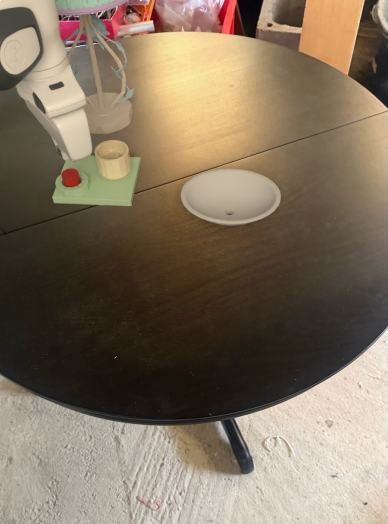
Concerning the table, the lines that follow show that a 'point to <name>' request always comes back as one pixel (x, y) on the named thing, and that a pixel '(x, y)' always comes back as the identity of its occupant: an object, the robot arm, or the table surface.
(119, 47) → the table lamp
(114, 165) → the beige cup
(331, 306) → the table surface
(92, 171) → the green base plate
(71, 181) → the button
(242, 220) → the dish
